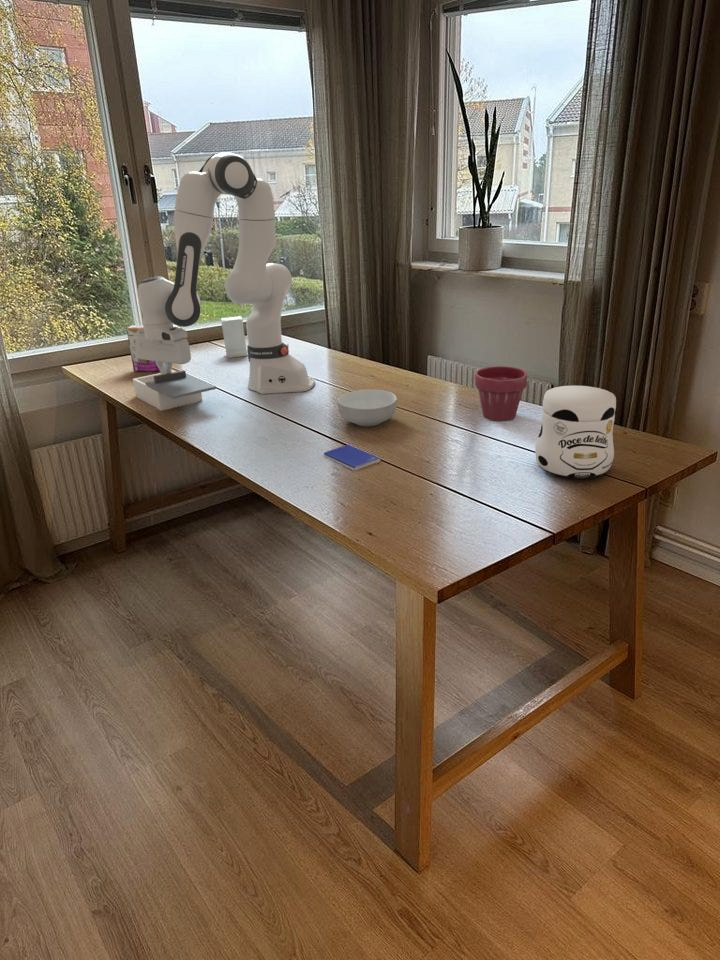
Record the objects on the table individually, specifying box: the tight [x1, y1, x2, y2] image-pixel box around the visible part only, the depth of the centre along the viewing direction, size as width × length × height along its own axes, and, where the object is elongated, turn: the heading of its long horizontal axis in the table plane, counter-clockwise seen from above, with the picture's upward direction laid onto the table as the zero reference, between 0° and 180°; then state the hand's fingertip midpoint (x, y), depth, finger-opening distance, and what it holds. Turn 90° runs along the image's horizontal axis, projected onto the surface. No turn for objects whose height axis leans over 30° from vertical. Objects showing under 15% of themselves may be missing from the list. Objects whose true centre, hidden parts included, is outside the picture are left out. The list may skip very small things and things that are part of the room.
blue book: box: [323, 444, 381, 471], centre depth 167 cm, size 2×8×12 cm
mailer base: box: [132, 370, 203, 412], centre depth 217 cm, size 20×14×6 cm
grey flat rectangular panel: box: [146, 369, 217, 399], centre depth 207 cm, size 20×14×3 cm
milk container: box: [534, 385, 617, 480], centre depth 153 cm, size 17×17×18 cm
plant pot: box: [474, 365, 528, 422], centre depth 189 cm, size 14×14×13 cm
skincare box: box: [220, 315, 248, 359], centre depth 263 cm, size 8×6×15 cm
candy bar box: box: [126, 324, 166, 373], centre depth 247 cm, size 11×5×16 cm, turn 84°
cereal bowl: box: [337, 388, 398, 427], centre depth 190 cm, size 17×17×7 cm
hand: (166, 374), depth 214 cm, fingers closed
